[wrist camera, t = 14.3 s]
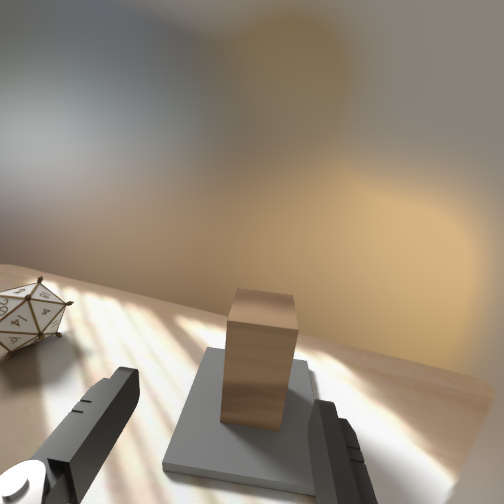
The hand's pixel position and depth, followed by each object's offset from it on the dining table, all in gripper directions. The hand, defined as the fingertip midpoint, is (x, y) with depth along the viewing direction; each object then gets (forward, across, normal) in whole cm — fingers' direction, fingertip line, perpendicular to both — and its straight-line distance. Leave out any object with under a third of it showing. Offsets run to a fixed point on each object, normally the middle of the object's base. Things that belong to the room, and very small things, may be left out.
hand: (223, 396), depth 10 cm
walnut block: (+10, -2, +12) cm, 16 cm away
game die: (+14, +27, +14) cm, 33 cm away
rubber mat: (+10, -2, +13) cm, 17 cm away
